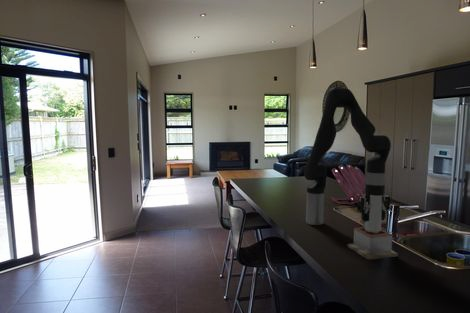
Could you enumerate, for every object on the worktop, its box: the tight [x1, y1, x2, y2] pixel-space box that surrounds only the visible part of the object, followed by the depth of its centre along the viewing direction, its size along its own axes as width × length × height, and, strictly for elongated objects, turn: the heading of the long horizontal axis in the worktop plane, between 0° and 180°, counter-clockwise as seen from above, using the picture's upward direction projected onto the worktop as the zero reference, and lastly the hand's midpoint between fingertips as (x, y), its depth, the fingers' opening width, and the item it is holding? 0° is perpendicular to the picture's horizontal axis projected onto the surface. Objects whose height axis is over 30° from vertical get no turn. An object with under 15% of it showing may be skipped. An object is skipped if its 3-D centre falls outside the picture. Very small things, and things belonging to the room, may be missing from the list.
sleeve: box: [353, 226, 393, 255], centre depth 133 cm, size 11×11×8 cm
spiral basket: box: [330, 164, 366, 205], centre depth 216 cm, size 28×28×27 cm
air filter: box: [363, 195, 383, 235], centre depth 133 cm, size 6×6×25 cm
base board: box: [347, 242, 399, 261], centre depth 134 cm, size 14×14×1 cm
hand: (373, 220), depth 133 cm, fingers open, 8 cm apart
